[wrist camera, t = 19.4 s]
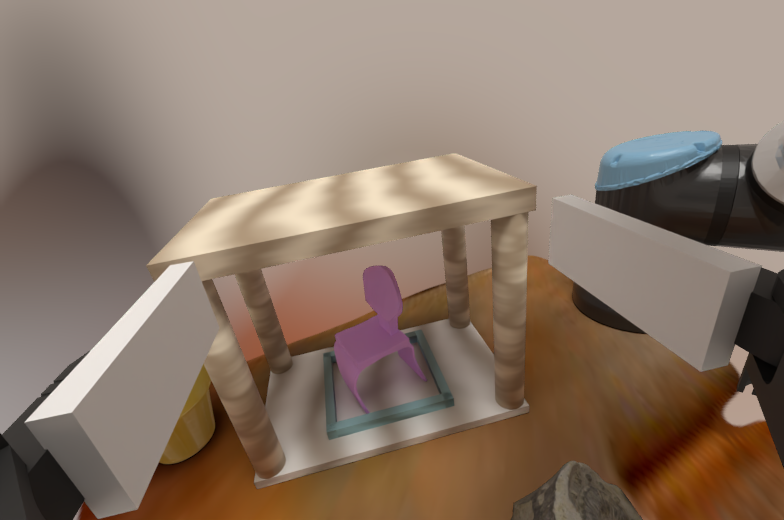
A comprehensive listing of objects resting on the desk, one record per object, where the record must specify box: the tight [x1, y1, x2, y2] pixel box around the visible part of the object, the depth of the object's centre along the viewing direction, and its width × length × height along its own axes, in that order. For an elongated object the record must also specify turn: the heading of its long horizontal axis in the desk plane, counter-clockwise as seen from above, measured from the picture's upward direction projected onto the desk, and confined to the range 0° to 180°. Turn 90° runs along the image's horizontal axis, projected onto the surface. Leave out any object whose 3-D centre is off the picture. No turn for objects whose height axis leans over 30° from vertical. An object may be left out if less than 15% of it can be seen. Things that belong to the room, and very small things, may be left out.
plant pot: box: [159, 364, 215, 464], centre depth 41 cm, size 10×10×10 cm
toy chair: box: [334, 266, 427, 414], centre depth 41 cm, size 8×9×15 cm
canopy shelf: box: [146, 153, 536, 489], centre depth 40 cm, size 29×18×25 cm, turn 102°
